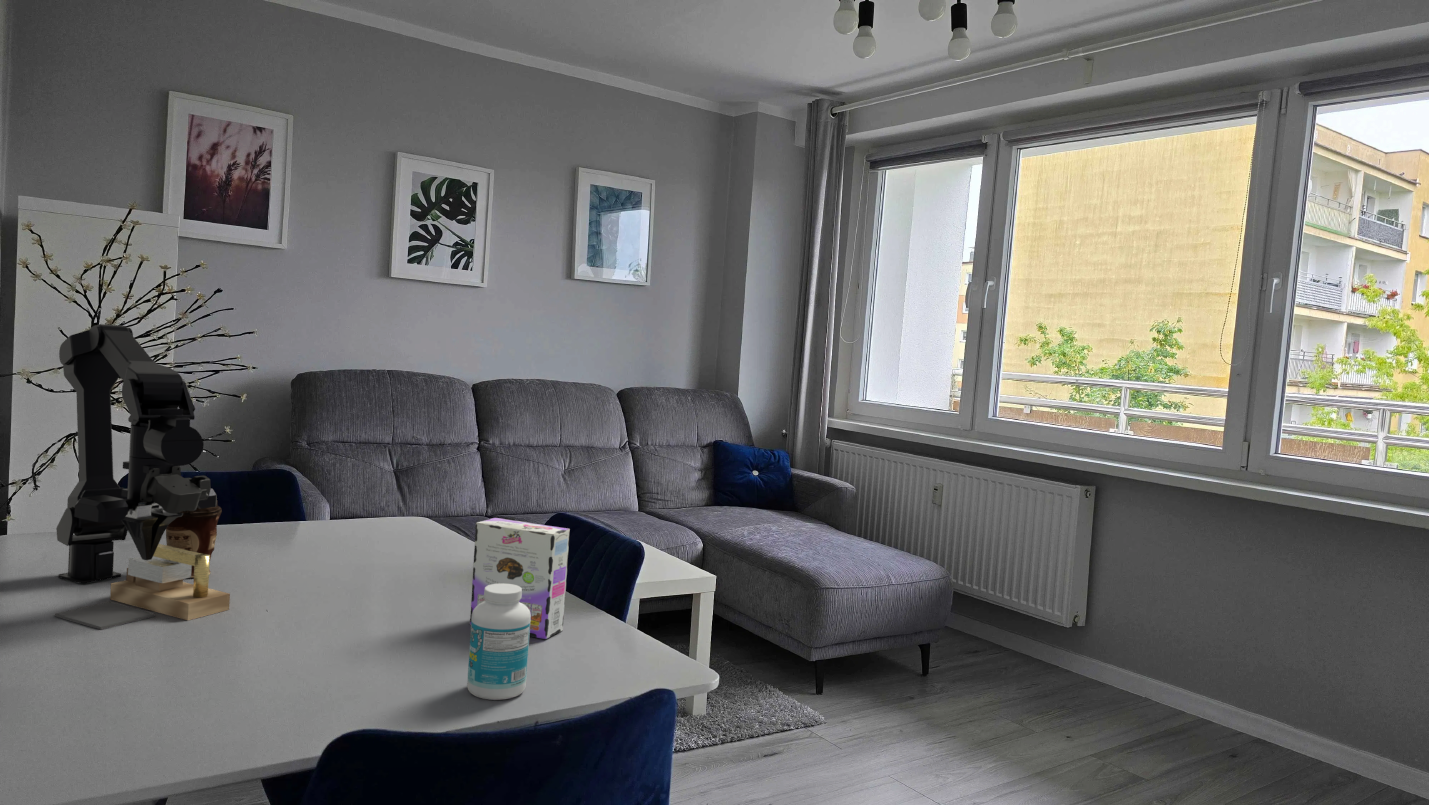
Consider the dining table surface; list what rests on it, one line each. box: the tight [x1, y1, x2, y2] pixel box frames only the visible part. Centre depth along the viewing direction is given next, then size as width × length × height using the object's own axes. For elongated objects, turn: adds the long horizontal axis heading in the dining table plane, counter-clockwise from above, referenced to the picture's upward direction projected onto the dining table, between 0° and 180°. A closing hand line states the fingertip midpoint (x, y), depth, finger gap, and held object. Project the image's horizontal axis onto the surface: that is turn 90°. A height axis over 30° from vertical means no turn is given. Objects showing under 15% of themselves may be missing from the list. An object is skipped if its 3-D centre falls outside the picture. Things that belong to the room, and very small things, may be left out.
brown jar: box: [165, 500, 223, 578], centre depth 161 cm, size 9×8×13 cm
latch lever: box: [153, 543, 211, 597], centre depth 144 cm, size 12×2×6 cm, turn 67°
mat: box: [54, 600, 156, 631], centre depth 137 cm, size 10×8×1 cm
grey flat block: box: [127, 556, 192, 583], centre depth 145 cm, size 8×5×2 cm, turn 67°
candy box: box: [469, 517, 571, 640], centre depth 147 cm, size 14×6×16 cm, turn 71°
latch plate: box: [109, 567, 231, 621], centre depth 145 cm, size 17×7×4 cm, turn 67°
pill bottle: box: [466, 583, 531, 701], centre depth 121 cm, size 8×7×14 cm
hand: (146, 559), depth 141 cm, fingers closed
